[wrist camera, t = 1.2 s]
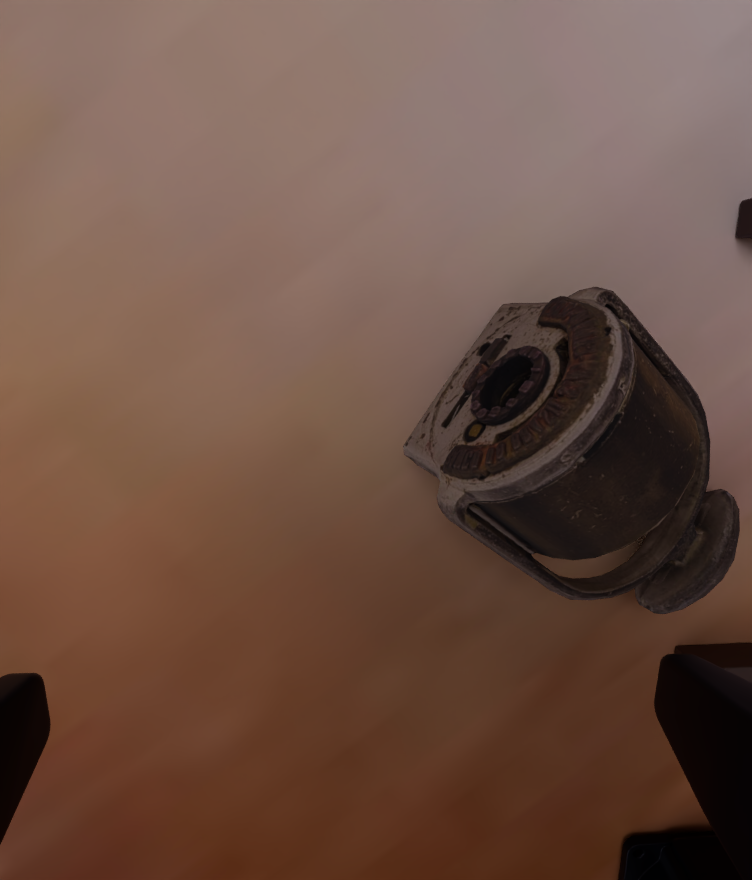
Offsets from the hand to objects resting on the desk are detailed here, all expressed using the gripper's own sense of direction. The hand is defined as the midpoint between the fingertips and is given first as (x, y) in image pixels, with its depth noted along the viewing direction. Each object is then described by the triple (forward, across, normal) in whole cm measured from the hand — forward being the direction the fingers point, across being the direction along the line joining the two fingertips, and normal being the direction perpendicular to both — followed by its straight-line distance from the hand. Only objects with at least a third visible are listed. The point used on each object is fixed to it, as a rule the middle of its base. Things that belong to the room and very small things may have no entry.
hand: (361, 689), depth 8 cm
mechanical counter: (+12, -8, 0) cm, 15 cm away
